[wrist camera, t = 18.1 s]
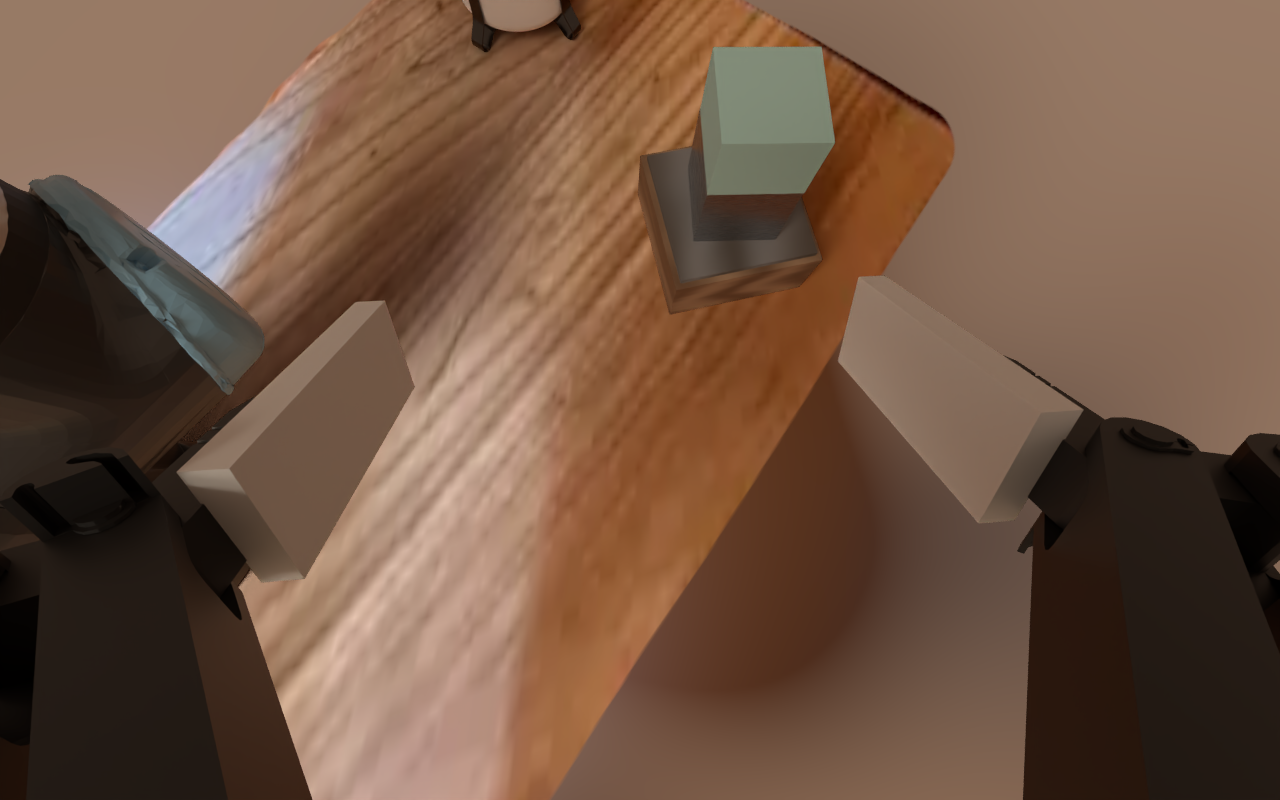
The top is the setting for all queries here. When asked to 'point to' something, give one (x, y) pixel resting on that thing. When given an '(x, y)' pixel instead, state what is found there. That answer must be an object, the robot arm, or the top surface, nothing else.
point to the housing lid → (765, 120)
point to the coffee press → (518, 18)
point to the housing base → (732, 206)
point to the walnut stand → (715, 244)
